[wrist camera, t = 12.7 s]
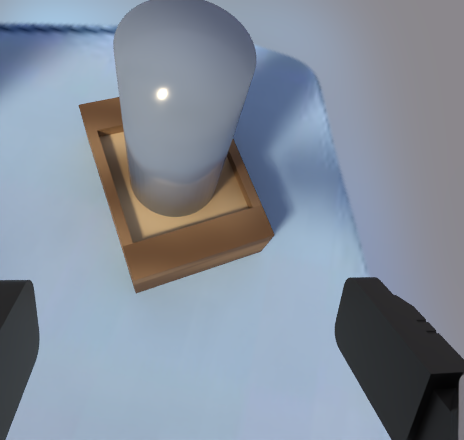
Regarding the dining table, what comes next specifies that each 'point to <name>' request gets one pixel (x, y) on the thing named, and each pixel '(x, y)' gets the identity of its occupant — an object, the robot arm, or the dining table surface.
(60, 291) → the dining table surface
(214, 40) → the grey domed cylinder
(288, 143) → the dining table surface
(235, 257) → the wooden tray
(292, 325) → the dining table surface
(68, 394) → the dining table surface
